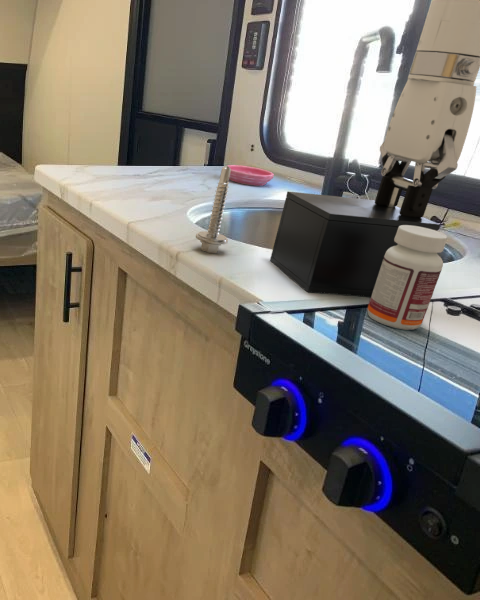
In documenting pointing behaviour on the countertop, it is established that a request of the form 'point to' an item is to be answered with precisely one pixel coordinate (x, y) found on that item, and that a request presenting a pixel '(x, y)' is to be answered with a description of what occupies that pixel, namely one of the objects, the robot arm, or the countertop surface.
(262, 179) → the saucer
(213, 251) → the screw
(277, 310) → the countertop surface
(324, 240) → the bin
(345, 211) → the bin lid
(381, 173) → the robot arm
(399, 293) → the pill bottle
